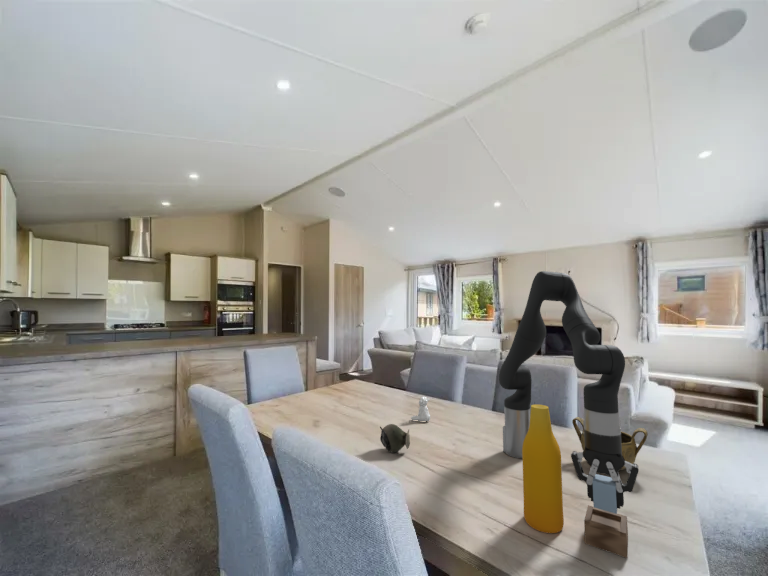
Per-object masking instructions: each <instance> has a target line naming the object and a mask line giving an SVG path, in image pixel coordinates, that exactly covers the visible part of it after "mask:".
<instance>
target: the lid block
mask: <svg viewBox="0 0 768 576" xmlns="http://www.w3.org/2000/svg"><path fill="white" fill-rule="evenodd" d="M592 481H593V501H592V502H593V504H592V505H593V507H594V508H598V509H601V510H605V511H609V512H612V513H616V514H618V508H617V500H616V484H614V482H613V480H612V478H611V476H608V475H602V474H599V473H598V474H597V473H596V474H595V477H594V479H593V480H592Z"/></svg>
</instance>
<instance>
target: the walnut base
mask: <svg viewBox="0 0 768 576" xmlns="http://www.w3.org/2000/svg"><path fill="white" fill-rule="evenodd" d="M583 521H584V527H583V528H584V544H586V545H588V546H590V547H594V548H597V549H599V550H603V551H606V552H608V553H611V554H614V555H617V556H620V557H623V558H625V559H628V556H629V554H628V551H629V535H628V534H629V530H628V516H627V515H624V514H620V513H617V514H616V513H612V512H609V511H605V510H601V509H598V508H594V505H593V506H592V505H589V504H588V505H587V509H586V512H585V517H584V520H583Z"/></svg>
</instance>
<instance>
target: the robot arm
mask: <svg viewBox="0 0 768 576" xmlns="http://www.w3.org/2000/svg"><path fill="white" fill-rule="evenodd" d="M544 301H549V302H561V303H562V304H563V305H564V306H565V308H564V311H563V313H562V316H561V324H562V327H563V331H565V333H566V335H567V338H568V339H569V341H570V344H571V348H572V353H573V354H572V355H573V362H574V366H575V367H576V369H578V371H579V372H581V373H583V374H585V375H600V376H601V377H600V379H599V380H598V381H595V382H591V383H587V384H586V385H584V387H583V410H584V411H583V420H584V422H583V426H584V442H585V449H584V451H583V450H582V451H578V452H577V451H575V450H573V451H572V453H571V455H570V458H571V460H572V463H573V466H574V471H575V473H576V475H577V479H578V480H579V481H583V482H584V483H586V485H587V486H586V489H587V492H586V493H587V498H588V499H590V502H593V481H592V480H593V479H594V477H595V474H597V473H598V474H604V475H605V476H608V477H611V478H612V480H613V482H614V484H616V500H617V509H619V510H620V509H621V507H622V508H623V507H624V504H625V501H624V499H625V498H624V497H625V496H624V494H625V493H627V492H628V493H632V492H633V491H634V490H633V489H634V487H635V483H636V480H637V478H638V475H639V465H638V464H637V463H635V462H634V464H631V463H629V462H627V461H625V459H624V458H623V456H622V444H621V431H622V428H621V418H620V413H619V398H618V396H619V391H620V386H621V382H622V379H623V376H624V375H623V374H624V372H625V368H626V360H625V359H626V358H625V355H624V353H623V352H622V350H621V349H620V348H619V347H618V346H616V345H613V344H599V343H600V341H601V333H600V331H599V330H598V329H597V326H596V325H595V324H594V322H593V320H591V318H590V317H589V315H588V314H587V312H586V310H585V308H584V305H583V302H582V300H581V297H580V294H579V292H578V289H577V287H576V284H575V282H574V279H573V278H572V277H571V276H570V275H569V274H568V273H565V272H559V271H558V272H557V271H546V270H545V271H544V270H543V271H538V272H537V273H536V274H535V276H534V277H533V280H532V283H531V286H530V290H529V294H528V298H527V301H526V305H525V308H524V310H523V311H524V312H523V314H522V316H521V319H520V322H519V324H518V327H517V328H516V331H515V332H516V333H515V335H514V338H513V341H512V343H511V346H510V348H509V351H508V353H507V354H506V357H505V359H504V360H503V362H502V364H501V367H500V369H499V373H498V382H499V385H500V387H502V389H504V390H509V391H510V390H514V391H515V392H513V393H512V394H511V395H509V396H507V397H506V398H505V399H504V400H503V401H504V403H503V405H504V407H503V409H504V425H503V426H502V447H503V448H502V452H503V453H505V454H507V455H508V456H510V457H513V458H516V459H517V458H518V459H523V458H522V447H523V441H524V439H525V436H526V434H527V432H528V430H529V425H530V413H531V402H532V383H533V381H532V373H531V370H530V369H529V367H528V366H527V365H525V364H523V363H525V362H526V361H527V360H529V359H530V358H531V357H533V356H534V355H536V353H538V352H539V351H540V349H541V347H542V346H543V343H544V341H545V338H546V336H547V327H546V324H545V322H544V319H543V317H542V313H541V307H542V304H543V302H544ZM583 458H584V460H585V461H586V462H587V464H588V465H589V466H590V469H589V472H588V474H586V473H585V471H584V467H583V466H582V462H583ZM623 466H625V467H626V469H625V470H626V473H628V477H627V480H626V482H625V483H623V482H622V479H621V476H620V474H619V473H620V472H619V471H621V470H620V469H621V468H622V467H623Z"/></svg>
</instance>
